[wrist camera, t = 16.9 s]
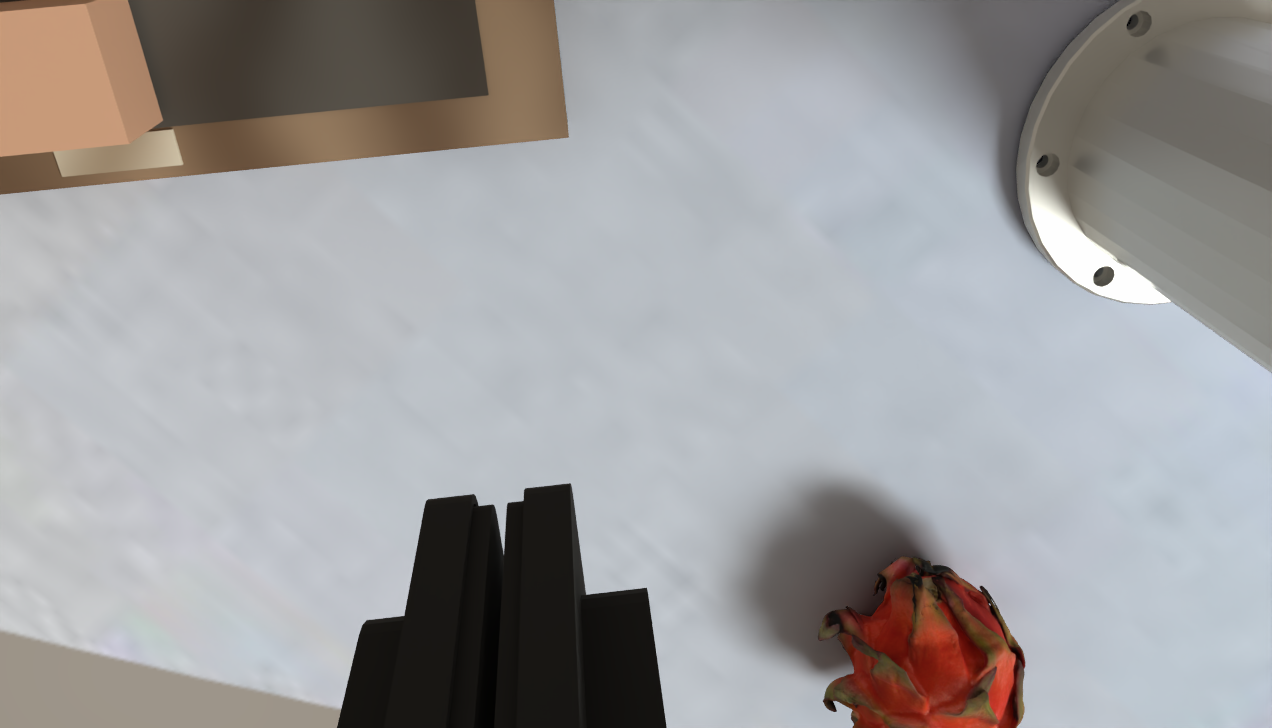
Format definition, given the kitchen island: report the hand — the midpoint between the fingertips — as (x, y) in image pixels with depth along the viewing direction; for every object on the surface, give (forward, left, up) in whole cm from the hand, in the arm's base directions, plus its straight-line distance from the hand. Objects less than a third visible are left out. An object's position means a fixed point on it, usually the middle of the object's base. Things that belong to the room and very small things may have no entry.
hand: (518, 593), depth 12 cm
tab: (+14, -3, -25) cm, 29 cm away
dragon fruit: (-14, +26, -27) cm, 40 cm away
